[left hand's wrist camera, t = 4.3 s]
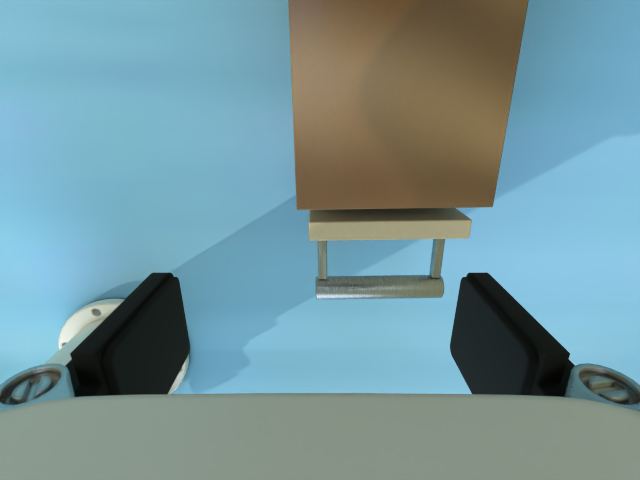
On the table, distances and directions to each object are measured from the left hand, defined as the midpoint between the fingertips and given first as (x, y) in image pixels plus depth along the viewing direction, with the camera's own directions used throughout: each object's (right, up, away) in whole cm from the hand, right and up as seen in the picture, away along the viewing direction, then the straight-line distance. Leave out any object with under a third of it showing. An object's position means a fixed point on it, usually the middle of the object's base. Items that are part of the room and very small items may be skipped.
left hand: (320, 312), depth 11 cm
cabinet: (+4, +17, +14) cm, 22 cm away
